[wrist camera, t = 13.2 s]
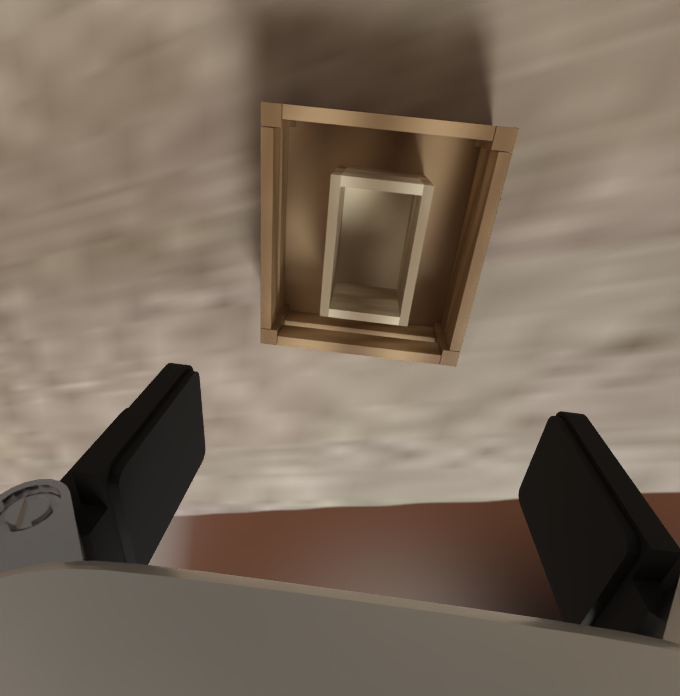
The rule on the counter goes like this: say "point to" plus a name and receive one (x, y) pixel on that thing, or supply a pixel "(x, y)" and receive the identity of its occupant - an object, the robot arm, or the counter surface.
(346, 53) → the counter surface
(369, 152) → the crate
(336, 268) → the small crate
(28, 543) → the robot arm
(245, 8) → the counter surface
